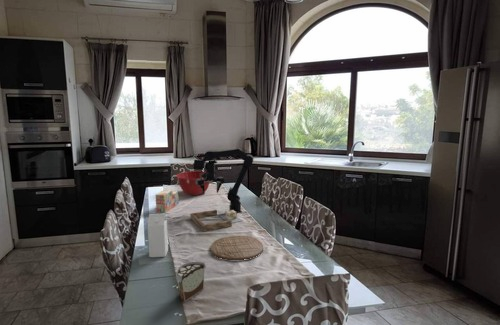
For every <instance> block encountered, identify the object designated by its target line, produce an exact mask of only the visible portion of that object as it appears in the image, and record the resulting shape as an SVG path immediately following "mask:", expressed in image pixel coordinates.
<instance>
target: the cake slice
mask: <svg viewBox="0 0 500 325" xmlns="http://www.w3.org/2000/svg"><path fill="white" fill-rule="evenodd" d="M205 269H206V263H205V262H203V261H190V262H187V263H184V264H182V265H180V266H178V268H177V269H176V274H175V279H176V281H177V282H178V288H179V296H180V300H181V301H182V302H184V303H186V302H187V301H189V300H190V299H192V298H193V297H195V296H196V295H198V294H199V293H201V292H202V291H203V289H204V288H205V286H204V285H205ZM200 291H201V292H200ZM197 293H198V294H197Z"/></svg>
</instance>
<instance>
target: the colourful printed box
mask: <svg viewBox="0 0 500 325" xmlns="http://www.w3.org/2000/svg"><path fill="white" fill-rule="evenodd" d="M179 202H180V201H179V191H177V190H176V191H175V190H171V189H170V190H168V189H163V190H162V191H159V192H158V193H156V194H155V207H156V208H155V211H156V214H166V213H167V212H169V211H170V210H172V209H173V208H174V207H176V206H178V205H179V204H180V203H179ZM177 204H178V205H177Z"/></svg>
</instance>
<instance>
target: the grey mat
mask: <svg viewBox="0 0 500 325" xmlns="http://www.w3.org/2000/svg"><path fill="white" fill-rule="evenodd" d="M219 217H220V218H222V219H223V220H224V221H229V220H228V219H227V218H226V214H222V215H219ZM236 217H237V219H231V221H232V224H234V223H240V222H244V220H243V219H241V218H240V217H239V216H238V215H236Z"/></svg>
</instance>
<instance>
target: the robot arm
mask: <svg viewBox="0 0 500 325" xmlns="http://www.w3.org/2000/svg"><path fill="white" fill-rule="evenodd" d="M231 156H238V157H239V158H241V159H242V160H243V162H242V163H243V164H242V167H241V169H240V172H239V174H238V176H237V179H236V181H235V182H234V185H233V186H232V187H231V186H230V187H229V190H228V192H227V194H226V195H227V200H228V201H229V207H228V208H229V210H228V211H230V210H234V211H235V212H236V214H238V213H242V212H243V211H242V210H241V209H242V208H241V206H242V205H241V204H242V202H241V201H240V200H241V197H240V196H239V195H238V194H239V189H240V187H241V184H242V183H243V181H244V179H245V176H246V173H247V171H248V170H249V168H250V167H251V166H252V164H253V163H254V159H255V158H254V157H253V155H252V154H248V153H247V152H245V150H242V149H241V148H240V147H236V148H232V149H231V148H230V149H224V150H214V149H213V150H212V149H211V150H207V151H206V152H205V153H204V157H203V158H202V159H194V161H193V170H194V171H204V169H205V171H204V172H205V174H204V173H200V177H201V178H203V179H206V180H202V179H196V180H195V184H197V185H199V186H200V187H201V189H202V192H203V194H202V195H205V193H206V191H205V188H204V185H203V184H204V183H207V182H210V183H215V182H216V194H218V193H219V191H220V190H221V187H222V185H223V184H224V183H226V178H225V177H223V176H217V177H216V171H215V165H216V164H218V161H217V160H216V159H218V158H222V157H231ZM215 177H216V178H215Z"/></svg>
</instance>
